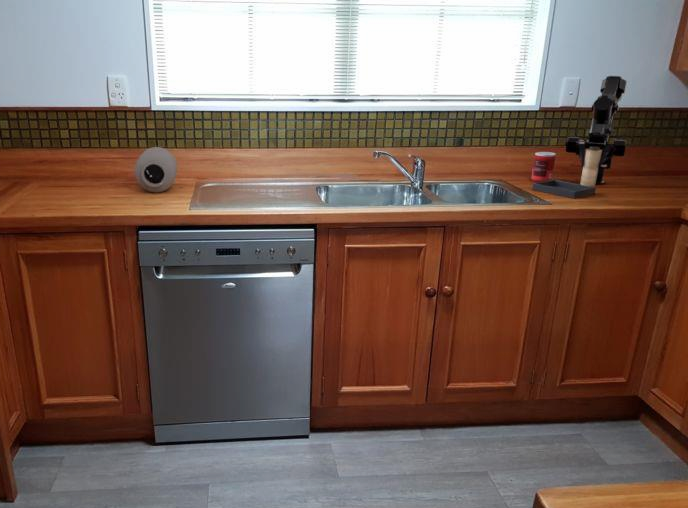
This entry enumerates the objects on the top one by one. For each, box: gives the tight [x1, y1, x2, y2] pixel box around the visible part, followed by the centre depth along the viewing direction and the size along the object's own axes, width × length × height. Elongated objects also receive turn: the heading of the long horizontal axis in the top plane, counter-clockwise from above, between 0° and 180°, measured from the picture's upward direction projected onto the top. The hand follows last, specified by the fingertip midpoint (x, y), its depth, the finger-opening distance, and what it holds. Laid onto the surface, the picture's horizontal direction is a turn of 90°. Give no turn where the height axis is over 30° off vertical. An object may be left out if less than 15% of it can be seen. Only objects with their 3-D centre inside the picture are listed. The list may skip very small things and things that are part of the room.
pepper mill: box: [579, 146, 602, 187], centre depth 210 cm, size 5×5×13 cm
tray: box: [531, 179, 597, 199], centre depth 226 cm, size 13×17×2 cm
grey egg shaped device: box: [133, 146, 178, 194], centre depth 222 cm, size 19×15×25 cm
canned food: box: [531, 151, 557, 183], centre depth 243 cm, size 8×8×11 cm
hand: (590, 166), depth 209 cm, fingers closed on pepper mill, 5 cm apart
